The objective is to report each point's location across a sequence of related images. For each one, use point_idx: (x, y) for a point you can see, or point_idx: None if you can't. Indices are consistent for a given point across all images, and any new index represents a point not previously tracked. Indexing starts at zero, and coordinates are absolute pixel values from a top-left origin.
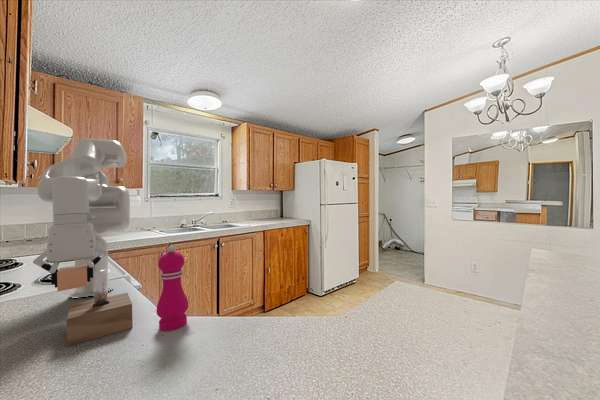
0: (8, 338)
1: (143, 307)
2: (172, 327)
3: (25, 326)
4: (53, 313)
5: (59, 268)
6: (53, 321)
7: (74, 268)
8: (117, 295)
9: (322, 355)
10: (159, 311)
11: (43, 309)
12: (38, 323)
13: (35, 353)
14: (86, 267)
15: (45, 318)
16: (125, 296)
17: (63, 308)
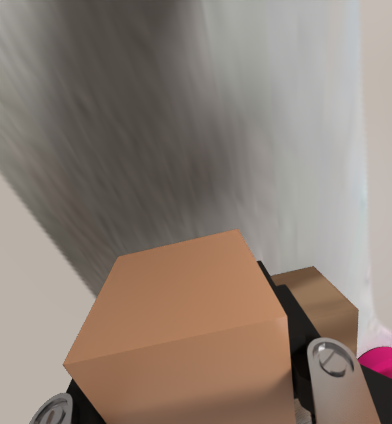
0: (89, 283)
1: (352, 240)
2: None
3: (79, 221)
4: (99, 132)
5: (73, 377)
6: (140, 221)
7: (212, 413)
8: (329, 325)
9: None
10: None
11: (19, 33)
12: (104, 215)
13: None
14: (292, 416)
15: (100, 177)
16: (348, 346)
17: (107, 80)
